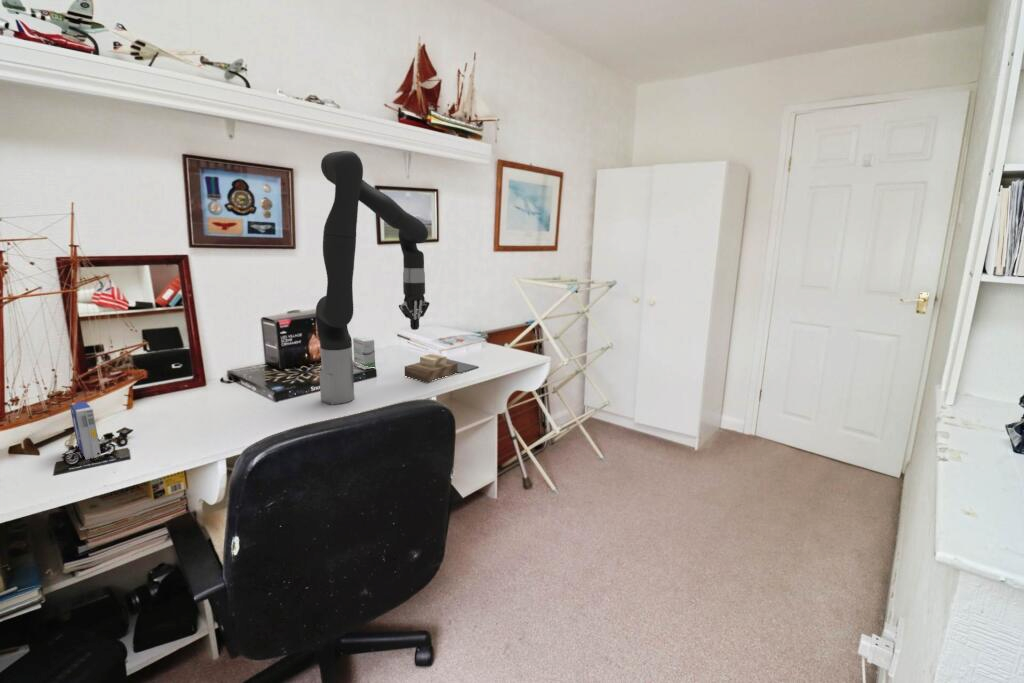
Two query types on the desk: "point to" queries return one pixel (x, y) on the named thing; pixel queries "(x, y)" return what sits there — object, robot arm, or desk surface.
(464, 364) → the charcoal mat
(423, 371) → the walnut stand
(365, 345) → the ink box
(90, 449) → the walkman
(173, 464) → the desk surface
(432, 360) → the maple block
